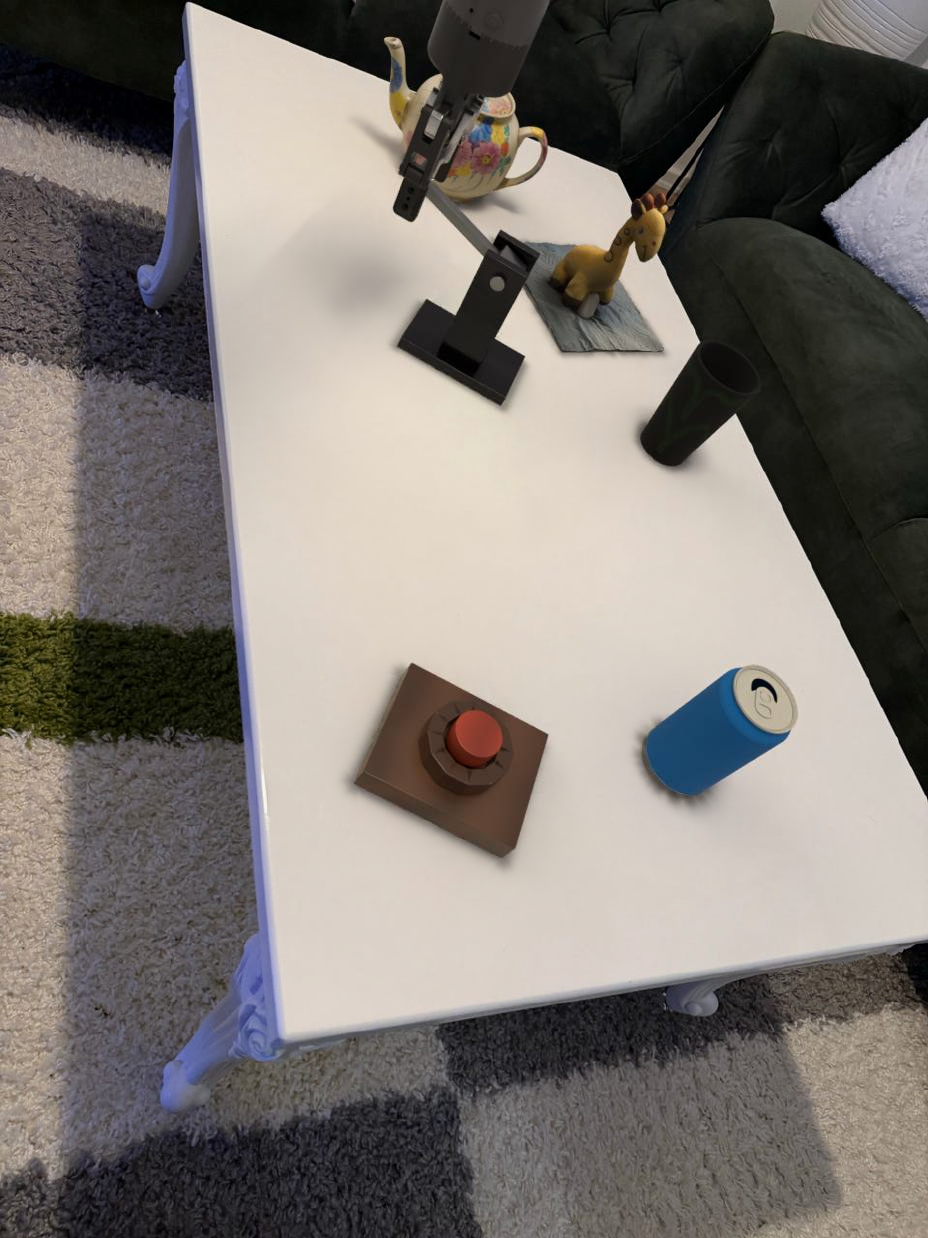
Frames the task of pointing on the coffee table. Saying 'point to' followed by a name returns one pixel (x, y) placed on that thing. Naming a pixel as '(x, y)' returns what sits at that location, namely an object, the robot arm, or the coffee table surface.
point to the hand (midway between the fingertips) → (419, 195)
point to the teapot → (484, 148)
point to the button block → (452, 763)
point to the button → (474, 738)
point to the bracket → (475, 325)
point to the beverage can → (722, 729)
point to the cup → (700, 401)
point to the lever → (467, 224)
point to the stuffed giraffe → (598, 285)
